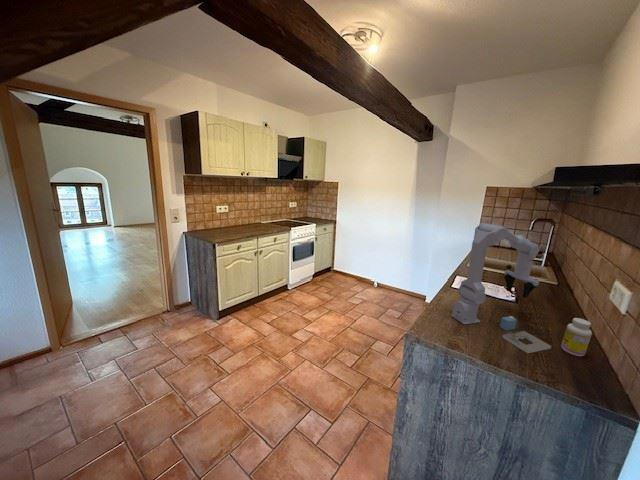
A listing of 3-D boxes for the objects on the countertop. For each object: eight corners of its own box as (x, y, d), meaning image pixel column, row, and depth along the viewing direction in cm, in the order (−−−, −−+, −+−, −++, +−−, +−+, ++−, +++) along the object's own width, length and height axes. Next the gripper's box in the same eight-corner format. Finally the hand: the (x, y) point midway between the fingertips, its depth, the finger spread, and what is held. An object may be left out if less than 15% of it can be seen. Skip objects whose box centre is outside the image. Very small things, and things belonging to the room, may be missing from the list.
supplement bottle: (559, 343, 101) (568, 314, 98) (583, 350, 97) (593, 320, 94) (561, 351, 96) (570, 321, 93) (585, 359, 92) (596, 328, 89)
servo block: (506, 330, 109) (508, 320, 108) (499, 326, 112) (501, 316, 110) (514, 329, 110) (517, 318, 109) (508, 325, 113) (510, 315, 112)
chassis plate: (527, 353, 94) (528, 350, 94) (502, 337, 104) (502, 334, 103) (550, 348, 98) (551, 346, 97) (523, 333, 107) (524, 331, 107)
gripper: (546, 271, 113) (538, 299, 116) (514, 261, 126) (508, 286, 130) (535, 272, 111) (527, 301, 114) (503, 262, 125) (497, 287, 128)
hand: (516, 293), depth 122 cm, fingers open, 7 cm apart
